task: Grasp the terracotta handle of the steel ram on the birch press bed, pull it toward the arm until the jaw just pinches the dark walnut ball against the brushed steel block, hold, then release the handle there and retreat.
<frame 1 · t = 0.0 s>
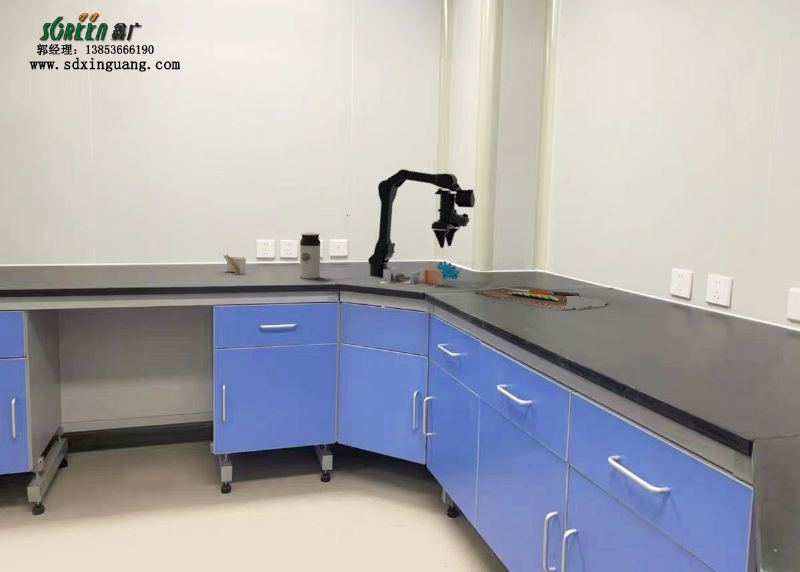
hand: (445, 246, 263), 15 cm above the lab bench, fingers open, 9 cm apart
brushed steel block: (390, 281, 260), resting on press bed
model: (233, 274, 282), on the lab bench
ram: (426, 276, 255), point 4 cm above the lab bench, slide at 0.0 cm
travel mug: (310, 278, 274), on the lab bench
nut: (399, 282, 259), point 1 cm above the lab bench, touching press bed
gear: (448, 280, 277), on the lab bench
press bed: (411, 286, 257), on the lab bench
chopping board: (539, 300, 238), on the lab bench
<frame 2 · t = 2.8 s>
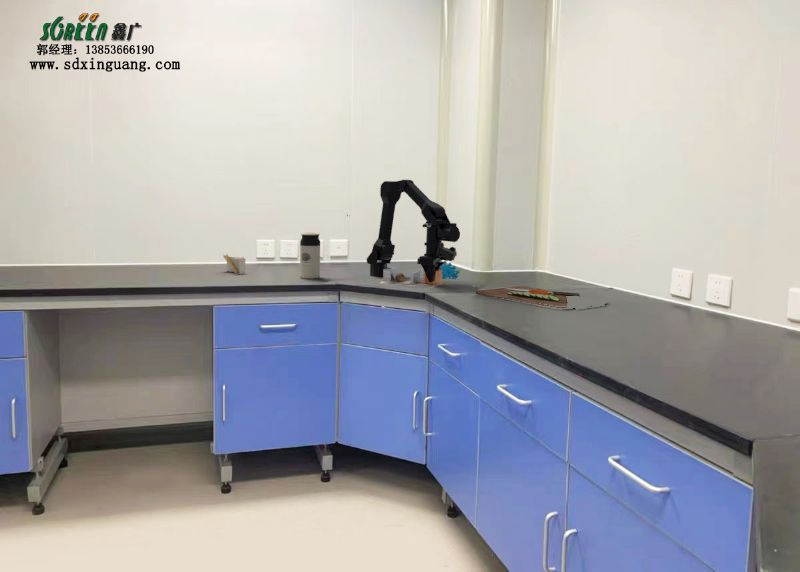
hand: (432, 281, 254), 3 cm above the lab bench, fingers closed on ram, 4 cm apart
ram: (426, 276, 255), point 4 cm above the lab bench, slide at 0.0 cm, touching gripper
everything else where it was.
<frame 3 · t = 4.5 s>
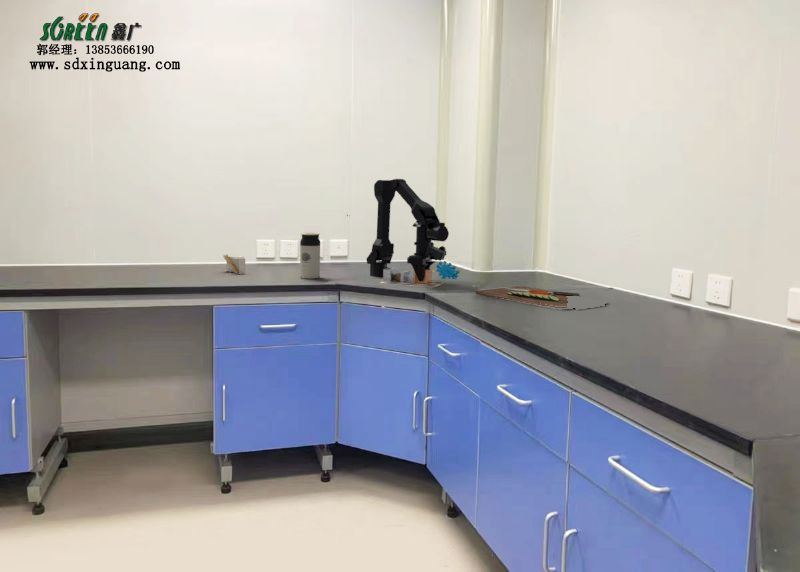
hand: (422, 280, 255), 2 cm above the lab bench, fingers closed on ram, 4 cm apart
ram: (416, 275, 256), point 4 cm above the lab bench, slide at 4.0 cm, touching gripper
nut: (399, 282, 259), point 1 cm above the lab bench, tilted 15°, touching press bed
everything else where it was.
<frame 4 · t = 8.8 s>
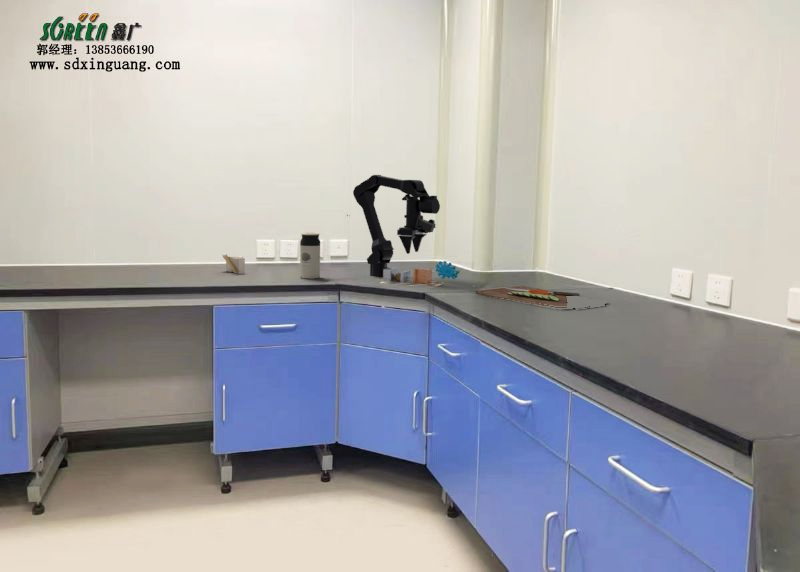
hand: (412, 252, 264), 12 cm above the lab bench, fingers open, 9 cm apart
ram: (416, 275, 256), point 4 cm above the lab bench, slide at 4.0 cm
everything else where it was.
at the end: ram slide at 4.0 cm; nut moved 0.0 cm from its start; the gripper is holding nothing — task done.
